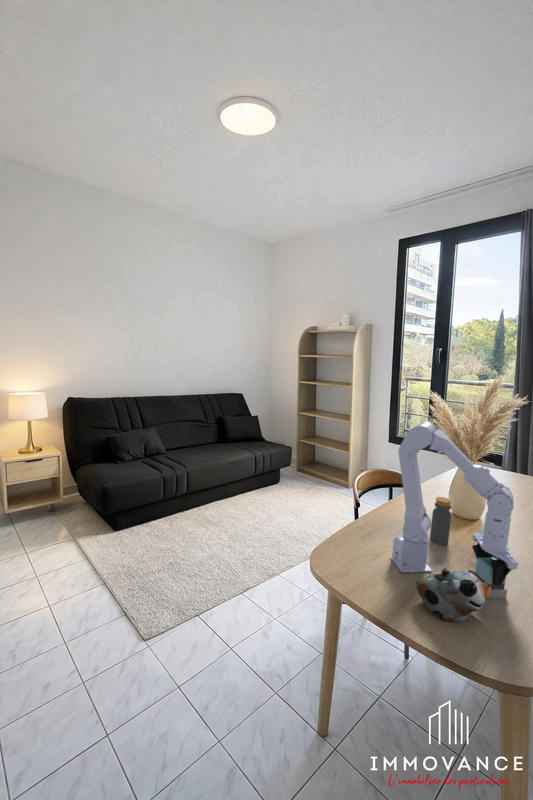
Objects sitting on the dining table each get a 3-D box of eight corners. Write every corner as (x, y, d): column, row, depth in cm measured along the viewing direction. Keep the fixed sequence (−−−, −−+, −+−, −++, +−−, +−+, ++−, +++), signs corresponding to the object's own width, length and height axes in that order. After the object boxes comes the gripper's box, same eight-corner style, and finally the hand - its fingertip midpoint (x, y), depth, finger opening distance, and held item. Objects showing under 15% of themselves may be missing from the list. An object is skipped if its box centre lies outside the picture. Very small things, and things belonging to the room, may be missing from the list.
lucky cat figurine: (447, 586, 102) (480, 555, 96) (473, 631, 92) (512, 600, 86) (405, 579, 97) (437, 546, 91) (428, 626, 87) (466, 592, 81)
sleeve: (487, 589, 98) (489, 568, 97) (474, 577, 103) (477, 557, 102) (504, 588, 98) (507, 567, 97) (491, 576, 103) (493, 557, 102)
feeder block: (485, 598, 98) (486, 590, 97) (470, 584, 103) (471, 576, 103) (506, 598, 98) (507, 589, 98) (490, 583, 104) (491, 575, 104)
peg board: (495, 583, 104) (498, 559, 103) (467, 574, 108) (470, 550, 107) (499, 556, 119) (502, 534, 118) (475, 548, 123) (478, 528, 122)
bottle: (429, 541, 126) (433, 500, 124) (430, 534, 132) (434, 494, 129) (447, 546, 124) (452, 504, 122) (448, 538, 129) (453, 498, 127)
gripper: (531, 545, 92) (524, 595, 94) (490, 519, 106) (484, 562, 108) (505, 546, 91) (498, 596, 93) (468, 519, 105) (462, 563, 107)
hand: (489, 578), depth 100 cm, fingers closed on sleeve, 5 cm apart
